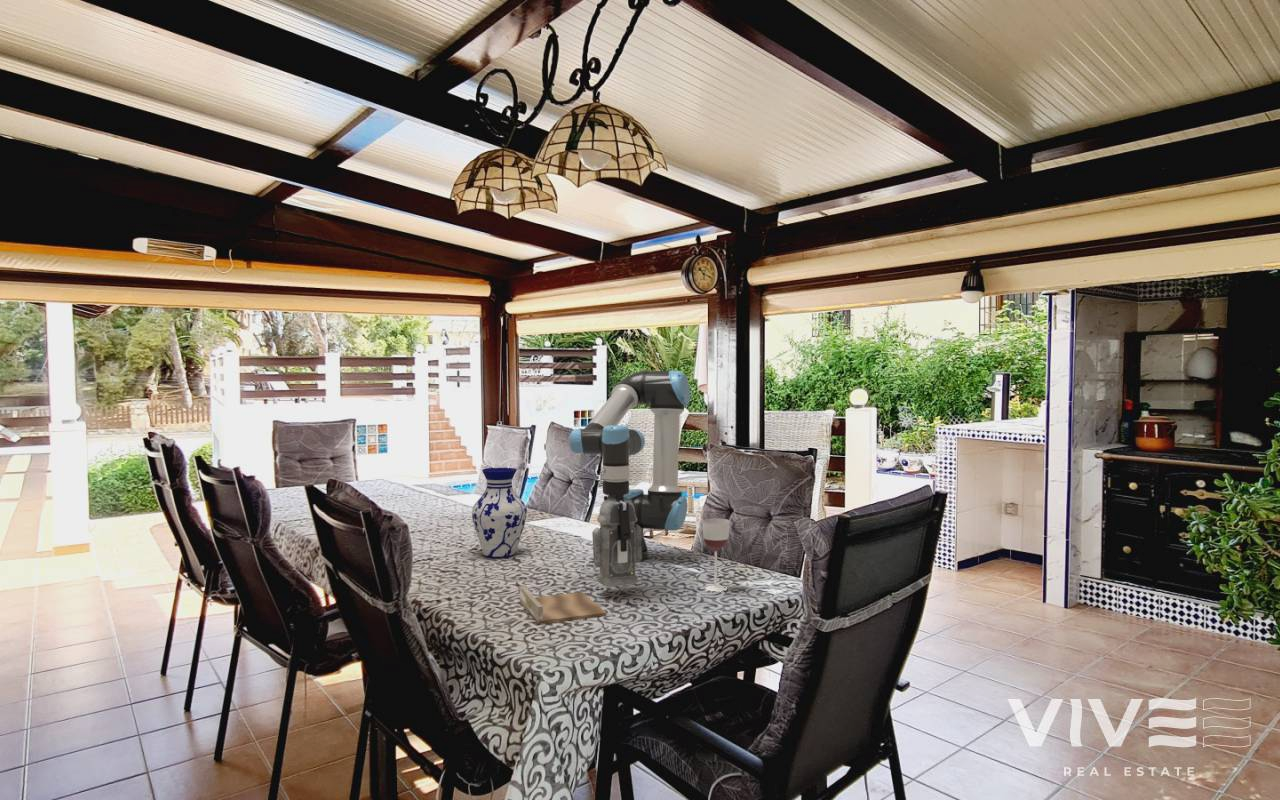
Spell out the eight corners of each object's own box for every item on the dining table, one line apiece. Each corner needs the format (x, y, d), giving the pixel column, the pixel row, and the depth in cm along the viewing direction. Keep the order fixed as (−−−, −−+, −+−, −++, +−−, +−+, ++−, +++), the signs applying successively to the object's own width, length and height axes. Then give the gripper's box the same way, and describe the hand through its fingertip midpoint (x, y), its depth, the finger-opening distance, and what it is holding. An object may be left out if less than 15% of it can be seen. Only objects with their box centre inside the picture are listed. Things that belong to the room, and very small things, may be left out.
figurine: (646, 582, 205) (646, 495, 203) (599, 588, 199) (599, 498, 198) (632, 573, 213) (632, 489, 212) (587, 579, 208) (587, 493, 207)
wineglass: (732, 586, 214) (732, 519, 214) (725, 594, 206) (726, 524, 206) (705, 583, 217) (706, 517, 216) (698, 591, 209) (698, 522, 208)
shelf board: (582, 594, 205) (582, 579, 205) (606, 615, 187) (606, 599, 187) (519, 602, 198) (519, 586, 198) (537, 624, 180) (537, 607, 180)
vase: (480, 563, 240) (479, 474, 240) (465, 552, 257) (465, 468, 257) (534, 557, 249) (534, 471, 249) (517, 546, 266) (517, 465, 265)
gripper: (591, 475, 214) (591, 550, 215) (617, 486, 194) (617, 569, 195) (614, 474, 217) (615, 548, 218) (642, 484, 197) (643, 566, 197)
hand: (616, 558), depth 206 cm, fingers closed on figurine, 9 cm apart
